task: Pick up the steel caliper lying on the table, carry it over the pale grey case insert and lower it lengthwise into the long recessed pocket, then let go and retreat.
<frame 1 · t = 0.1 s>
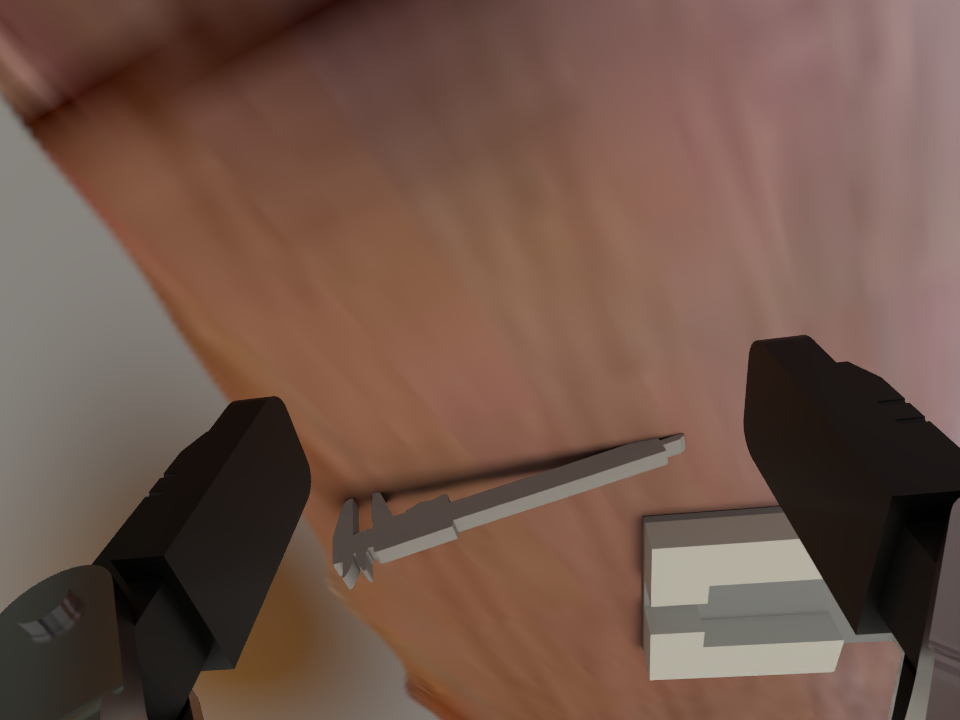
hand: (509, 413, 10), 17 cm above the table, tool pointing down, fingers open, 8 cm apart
case insert: (874, 573, 37), on the table
caliper: (507, 468, 34), on the table
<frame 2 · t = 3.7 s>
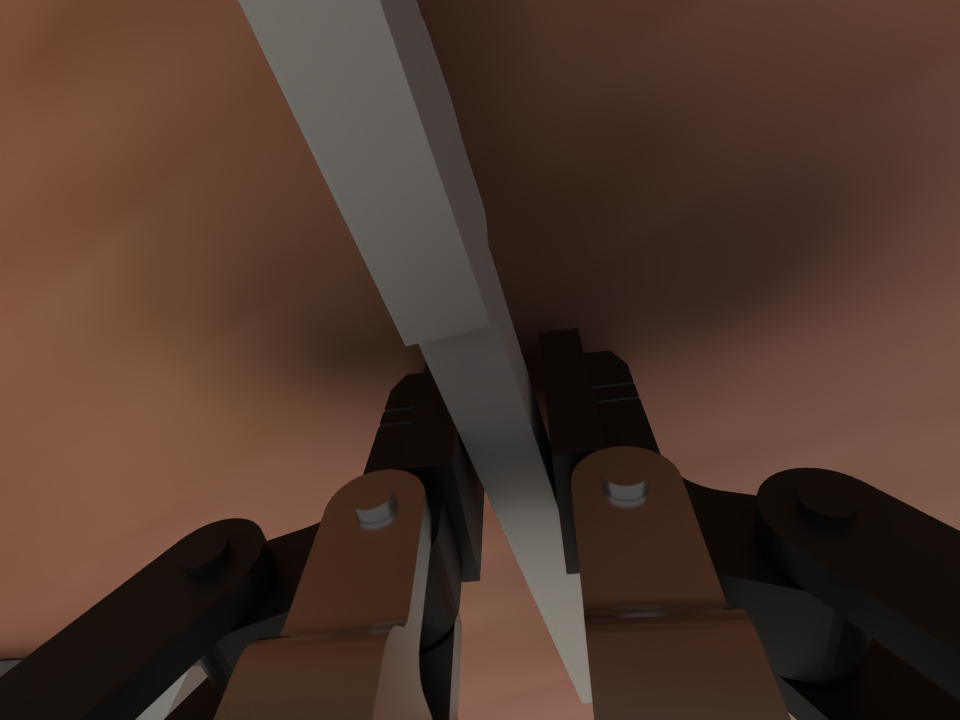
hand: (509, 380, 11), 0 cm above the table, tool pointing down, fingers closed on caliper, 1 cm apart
caliper: (511, 366, 11), on the table, touching gripper
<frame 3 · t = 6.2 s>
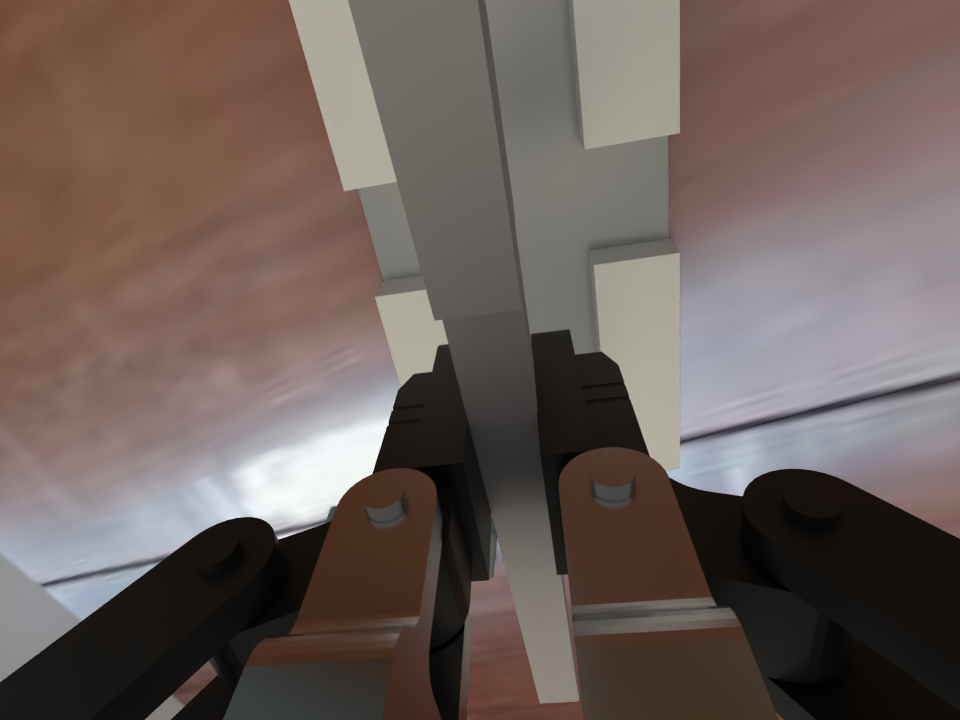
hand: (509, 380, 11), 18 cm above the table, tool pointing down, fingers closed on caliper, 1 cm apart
bracket: (415, 526, 39), on the table
case insert: (514, 206, 27), on the table
caliper: (511, 361, 11), point 17 cm above the table, touching gripper
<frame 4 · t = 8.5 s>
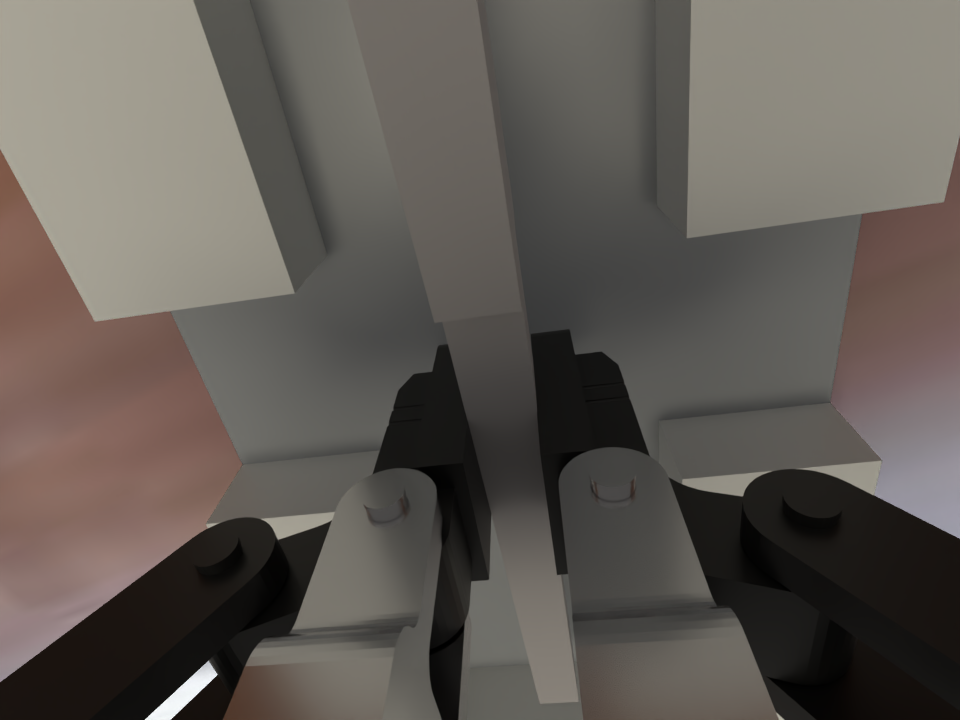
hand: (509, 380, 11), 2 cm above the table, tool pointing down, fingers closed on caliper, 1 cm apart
case insert: (504, 333, 13), on the table
caliper: (511, 362, 11), point 1 cm above the table, touching gripper
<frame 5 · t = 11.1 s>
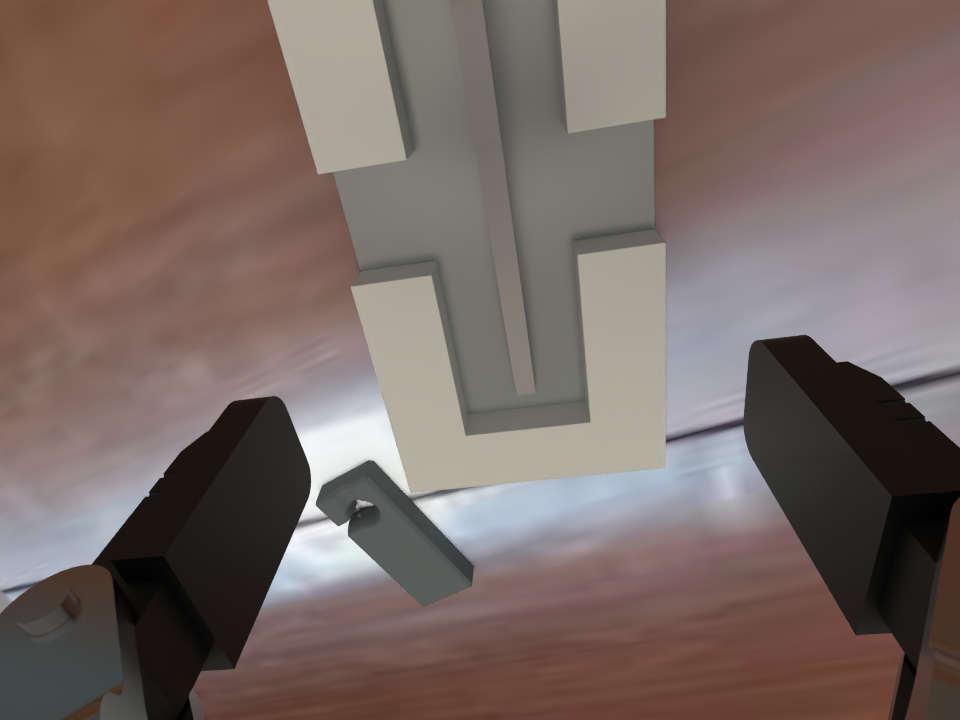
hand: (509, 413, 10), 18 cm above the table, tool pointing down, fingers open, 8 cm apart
bracket: (402, 521, 37), on the table
case insert: (495, 195, 26), on the table
caliper: (499, 197, 26), resting on case insert
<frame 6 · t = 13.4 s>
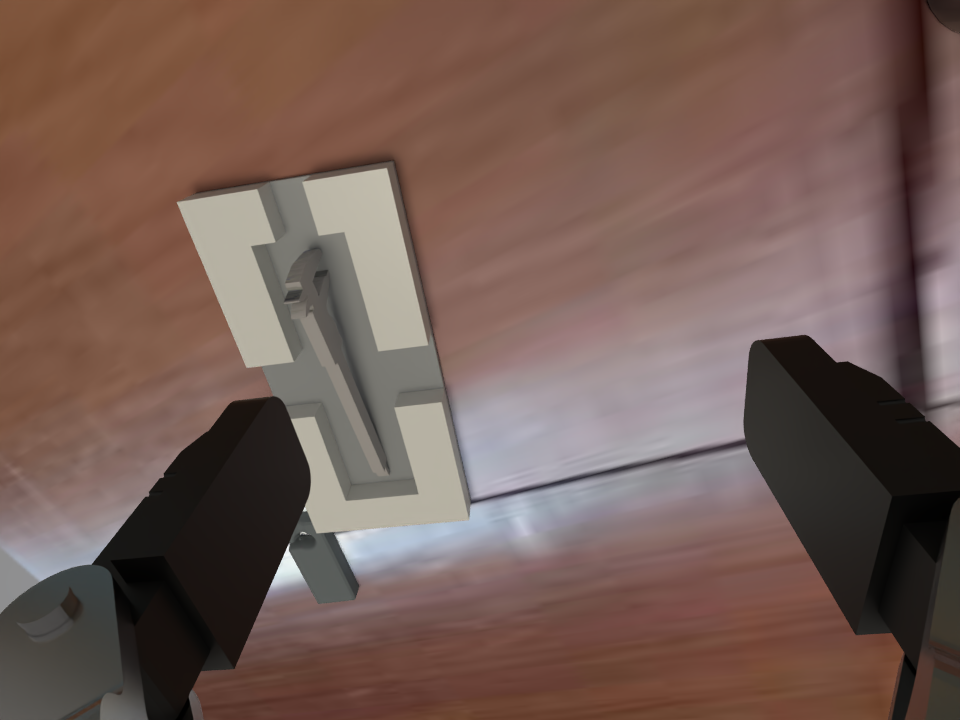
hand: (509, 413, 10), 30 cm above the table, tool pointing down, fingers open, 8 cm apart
bracket: (323, 547, 56), on the table
case insert: (352, 368, 45), on the table
caliper: (354, 370, 45), resting on case insert
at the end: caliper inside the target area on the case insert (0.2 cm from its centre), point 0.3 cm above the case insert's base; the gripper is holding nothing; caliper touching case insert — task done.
